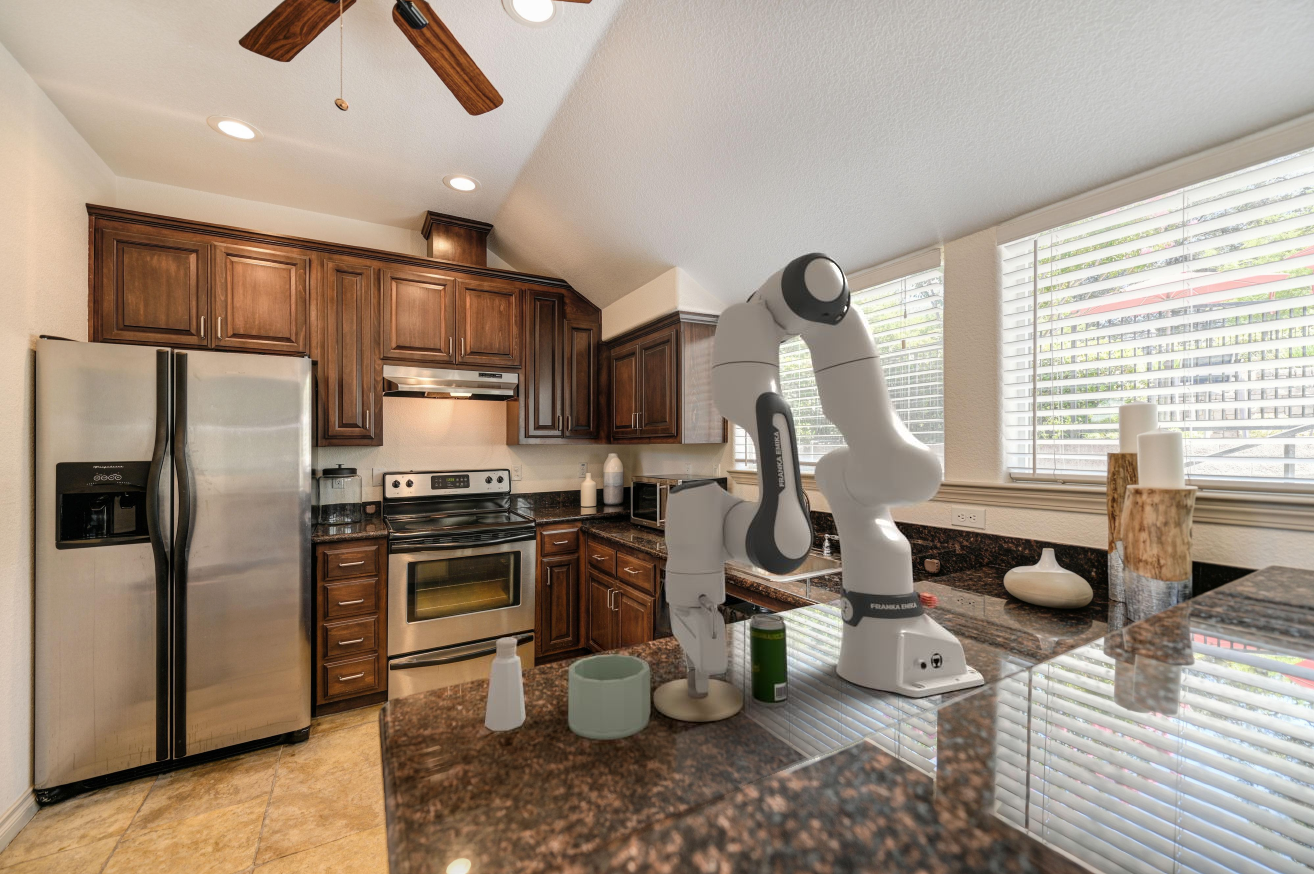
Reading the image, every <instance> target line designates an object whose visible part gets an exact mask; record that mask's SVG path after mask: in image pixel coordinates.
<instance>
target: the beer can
mask: <svg viewBox="0 0 1314 874" xmlns="http://www.w3.org/2000/svg"><path fill="white" fill-rule="evenodd" d="M787 644H788V643H787V625H786V623H785V617H784V616H781V615H778V614H773V613H772V614H771V613H757V614H753V615H751V616H750V622H749V650H750V651H749V655H750V656H749V657H750V689H751V690H750V691H751V697H752V700H753V702H754V704H756V705H758V706H761V707H765V708H781V707H784V706H785V705H786V704H787V702H788V699H789V686H788V685H789V683H788V682H789V679H788V675H789V674H788V650H787Z"/></svg>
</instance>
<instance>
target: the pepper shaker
mask: <svg viewBox="0 0 1314 874" xmlns="http://www.w3.org/2000/svg"><path fill="white" fill-rule="evenodd" d="M517 644H518V639H517V638H515V637H512V636H511V637H509V636H508V637H501V638H499V639H497V640H496V642H495V645H496V649H495V650H496V656H495V658H494V659H492V662H491V669H490V675H489V684H488V685H489V686H488V693H487V694H488V695H487V701H486V710H485V717H484V718H485V719H484V726H485V727H486V728H488V729H489V730H491V731H492V732H506V731H507V732H508V731H511V730H514V729H516V728H519V727H522V725H523V723H524V722H525V720H526V709H525V708H526V706H525V697H524V685H523V684H524V683H523V672H522V663H521V657H520V656H519V655H517Z"/></svg>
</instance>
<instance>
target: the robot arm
mask: <svg viewBox="0 0 1314 874" xmlns="http://www.w3.org/2000/svg"><path fill="white" fill-rule="evenodd" d="M851 298H852V296H851V291H850V288H849V284H848V280H847V277H846V274H845V273H844V271H843V269H842V267H841V265H839V263H838V262H837V261H835V259H834V258H833V257H831V256H830V255H827V254H826V253H824V252H823V253H822V252H811V253H807V254H803V255H801V256H799V257H797V258H795V259H793V260H791V261H790V262H789V263H788V264H786V266H784V267H782V268H780V269H779V270H778V271H776V272H775V273H773V274H771V275H770V276H769V277H768V279H767V280H765V282H764V283H763V284H762V285H761V286H760V287H759V288H758V289H757V290H756V291H754V292H753V293H752V294H751V295H750V296H749V297H748V299H747V300H746V301H743V302H739V303H734V304H733V305H730V306H728V307H726V308H725V309H724V310H723V311H721V313H720V315H719V317H718V319H717V323H716V328H715V331H714V338H713V344H712V352H711V353H712V355H711V365H710V367H711V369H710V370H711V371H710V376H711V378H710V387H711V388H710V391H711V397H712V401H713V406H714V408H715V409H716V410H717V412H718V413H719V414H720V415H721V417H723V418H725V420H727V421H728V422H730V423H732V424H734V425H736V426H738V427H739V428H741V429H743V430H744V431H745V432H746V433H747V434H748V436H749V437H750V438H751V441H752V443H753V447H754V451H755V452H754V454H755V462H756V471H757V472H756V474H757V482H758V483H757V484H758V499H757V501H752V500H745V498H741V497H738V496H736V495H734V494H732V493H730V492H729V491H727V490H725V489H724V488H722V487H721V486H720V485H719V484H718V482H717V481H715V480H712V479H701V480H700V479H699V480H695V481H694V480H693V481H689V482H684V483H680V484H677V485H676V486H674V487H673V488H671V490H670V491H669V493H668V495H667V499H666V504H665V505H666V506H665V516H664V541H665V545H666V548H667V560H666V564H665V579H664V591H665V598H666V599H665V600H666V603H668V605H669V608H668V609H669V617H670V618H669V619H670V625H671V626H670V627H671V631H672V635H673V636H674V637H675V639H676V640H677V642H678V644H679V645H680V646H681V647H682V649H683V651H684V653H683V654H684V659H685V663H686V673H687V672H689V671H691V670H695V677H694V687H695V689H696V691H697V692H698V693H704V692H707V691H708V690H709V680H708V679H710V676H711V675H715V676H716V675H722V674H723V675H724V674H726V672H727V670H728V667H729V666H728V663H729V661H728V658H729V657H728V645H727V633H726V632H727V631H726V626H725V625H726V624H725V620H724V616H723V614H722V613H721V612H720V611H719V610H718V605H721V604H724V603H725V602H726V586H725V585H726V581H725V579H726V577H725V575H726V574H725V563H726V562H727V561H729V560H731V561H734V562H738V563H740V564H744V565H748V566H752V567H756V568H757V569H760V570H762V571H764V572H768V573H770V574H772V575H776V576H785V575H789V574H792V573H793V572H795V571H797V570H798V569H799V568H801V566H803V564H804V563H805V562H806V561H807V559H808V558H809V555H810V553H811V552H812V548H813V543H814V531H813V525H812V522H811V517H810V515H809V512H808V509H807V505H806V502H805V497H804V492H803V483H802V477H801V476H802V475H801V467H800V466H801V465H800V459H799V449H798V441H797V433H796V427H795V423H794V422H795V421H794V416H793V413H792V410H791V407H790V404H789V403H788V400H786V399H785V398H784V395H783V390H782V385H781V377H780V374H781V373H780V369H781V368H780V366H781V365H780V348H781V347H780V346H781V344H784V343H785V342H787V341H789V340H791V339H794V338H796V337H798V336H799V338H801V340H802V341H803V342H804V343H805V345H806V346H807V348H808V350H809V352H810V358H811V365H812V370H813V374H814V379H815V383H816V387H817V391H818V396H819V400H820V401H819V402H820V405H821V409H822V414H823V415H824V417H825V418H826V420H827V421H829V422H830V423H831V424H833V425H834V426H835V427H836V428H837V430H838V431H839V432H840V434H841V435H842V437H843V438H844V441H845V442H846V445H843V446H839V447H837V448H836V449H835V448H834V449H833V450H831V451H829V452H827V453H826V454H824V455H822V456H821V458H820V459H818V461H817V463H816V465H815V466H814V467H815V468H814V477H813V478H814V483H815V486H816V488H817V490H818V491H819V493H820V494H821V495H822V496H823V497H824V499H825V500H826V502H827V504H828V505H829V506H828V507H829V509H830V511H831V514H832V517H833V521H834V523H835V527H836V530H837V531H836V532H837V535H838V541H839V546H840V558H841V559H840V560H841V575H842V585H841V586H840V592H839V593H840V614H841V620H842V633H841V644H840V652H839V657H838V661H837V665H836V668H835V671H836V673H837V675H838V676H840V677H841V678H842V679H844V680H846V681H849V682H850V683H852V684H856V685H859V686H862V687H865V688H869V689H874V690H880V691H886V692H891V693H892V692H893V693H897V694H900V695H903V696H907V697H913V698H921V697H927V696H931V695H937V694H943V693H947V692H952V691H957V690H961V689H967V688H973V687H977V686H981V685H984V684H985V679H984V677H983V675H982V674H981V672H979V671H978V670H976V669H975V668H973V667H971V666H970V665H968V664H967V660H966V656H965V651H964V649H963V646H962V644H961V642H960V640H959V639H958V638H957V637H956V636H955V635H954V634H952V633H951V632H950V631H949V630H947V629H946V628H944V627H943V626H942V625H941V624H939V623H938V622H936V621H935V620H934V619H932V618H931V617H930V616H929V615H928V614H926V613H925V612H926V611H925V609H924V606H927V607H928V608H933V609H934V608H935V607H937V605H938V598H937V597H936V596H935V595H933V594H930V593H928V592H927V593H925V592H924V593H922V594H921V593H920V592H918V591H917V590H915V589H914V579H913V563H912V562H913V561H912V548H911V547H912V546H911V544H910V541H909V540H908V539H907V537H906V535H904V534H903V533H902V532H901V531H900V530H899V528H898V526H897V525H896V523H895V521H894V520H893V519H894V518H893V516H892V513H891V512H890V511H891V510H890V508H895V509H896V508H897V509H898V508H906V507H911V506H915V505H919V504H922V503H926V502H928V501H929V500H931V499H933V498H934V497H935V495H936V494H937V493H938V491H939V490H940V488H941V485H942V481H943V469H942V465H941V460H940V459H939V457H938V454H936V452H935V451H934V450H933V449H932V448H931V447H929V446H928V445H926V444H925V443H923V442H922V441H920V440H919V439H918V438H917V437H916V436H914V434H913V433H912V432H911V431H910V430H909V429H908V427H907V426H906V424H905V422H904V421H903V420H902V419H901V416H900V415H899V413H898V412H897V409H896V408H895V405H894V403H893V401H892V398H891V395H890V392H889V388H888V385H887V382H886V381H887V380H886V378H885V373H884V369H883V366H882V361H881V358H880V353H879V350H878V346H877V343H876V339H875V337H874V334H873V331H872V329H871V326H870V324H869V322H868V320H867V317H866V315H865V313H864V311H863V310H862V308H861V307H860V306H858V305H857V304H856V303H853V302H851V301H852V299H851Z"/></svg>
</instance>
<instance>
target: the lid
mask: <svg viewBox="0 0 1314 874" xmlns="http://www.w3.org/2000/svg"><path fill="white" fill-rule="evenodd" d="M686 674H687V675H686V676H687V677H686V678H683V679H675V680H672V681H669V682H665V683H663V684H660V686H659V687H657V688H656V689H655V691H654V692H653V706H654V707H655V709H656V710H657V711H658V712H660V713H661V714H663V715H664V716H667V717H669V718H672V719H675V720H680V721H685V722H698V723H699V722H701V723H702V722H712V721H714V722H716V721H719V720H724V719H727V718H729V717H732V716H734V715H736V714H737V713H739V712H740V711H741V709H742V708H743V706H744V705H743V704H744V701H743V699H744V697H743V692H742V691H741V690H740V689H739V688H737V687H736V686H735V685H733V684H731V683H728V682H726V681H721V680H718V679H713V678H712V679H711V678H709V679H708V680H709V690H708V691H707V692H704V693H698V692H697V691H696V689H695V687H694V677H695V670H691V671H689V672H687V671H686Z"/></svg>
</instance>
